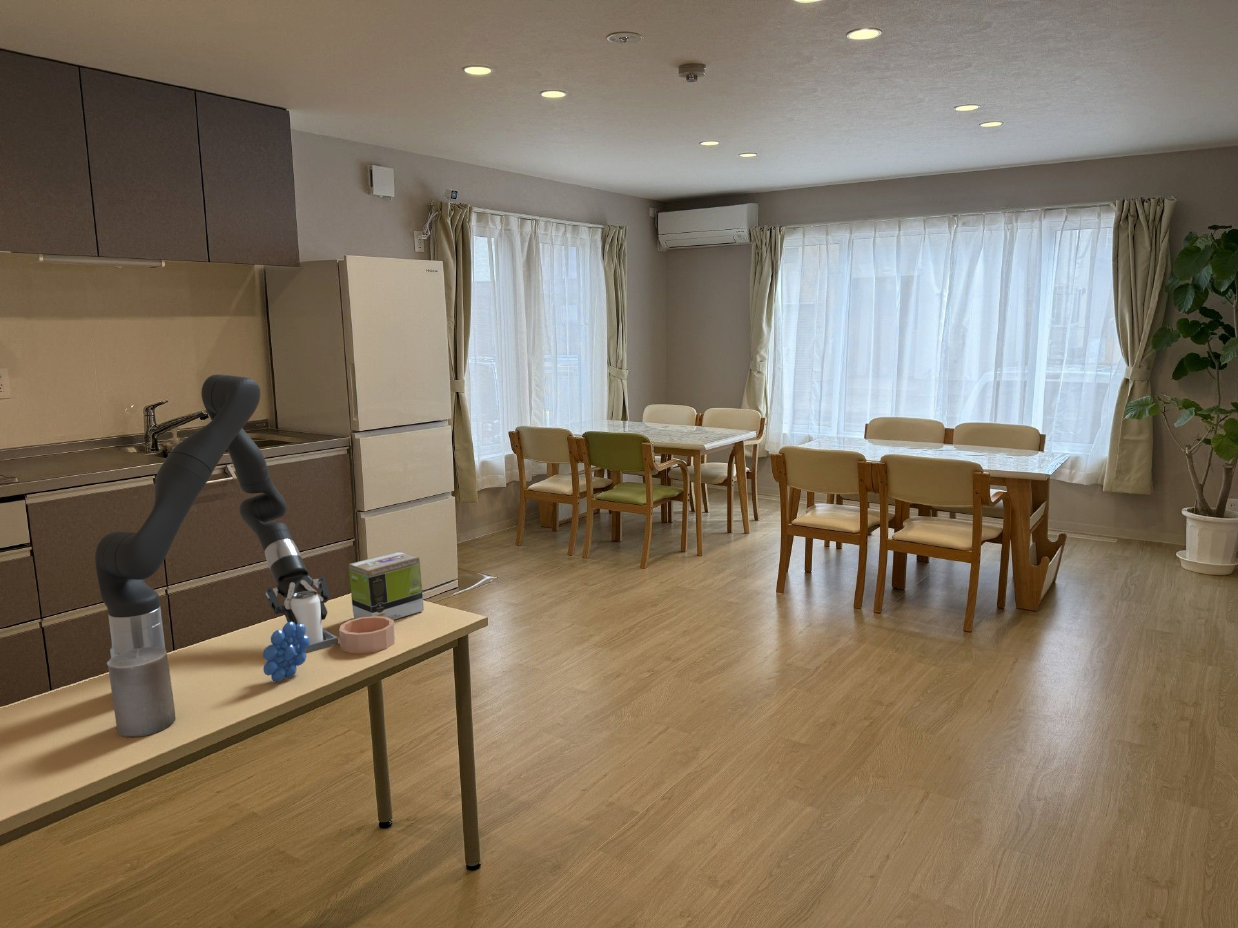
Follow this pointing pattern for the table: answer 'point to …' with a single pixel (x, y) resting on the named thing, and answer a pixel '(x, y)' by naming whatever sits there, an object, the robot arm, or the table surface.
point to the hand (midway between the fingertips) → (309, 621)
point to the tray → (323, 642)
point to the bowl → (367, 634)
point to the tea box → (386, 586)
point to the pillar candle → (141, 691)
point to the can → (308, 614)
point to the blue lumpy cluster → (286, 651)
